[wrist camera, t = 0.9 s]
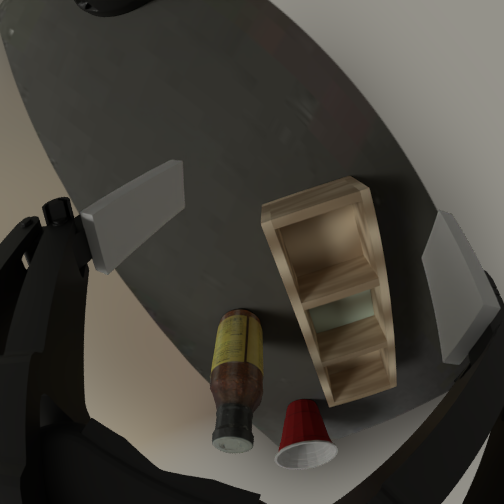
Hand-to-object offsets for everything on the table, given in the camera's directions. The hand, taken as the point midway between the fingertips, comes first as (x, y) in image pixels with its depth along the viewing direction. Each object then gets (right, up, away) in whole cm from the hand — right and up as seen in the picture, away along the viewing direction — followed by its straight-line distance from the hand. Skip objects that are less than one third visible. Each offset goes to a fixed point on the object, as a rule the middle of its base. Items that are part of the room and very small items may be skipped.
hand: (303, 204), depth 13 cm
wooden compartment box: (+9, -8, +25) cm, 28 cm away
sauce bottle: (-4, -13, +28) cm, 31 cm away
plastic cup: (+7, -32, +36) cm, 48 cm away
